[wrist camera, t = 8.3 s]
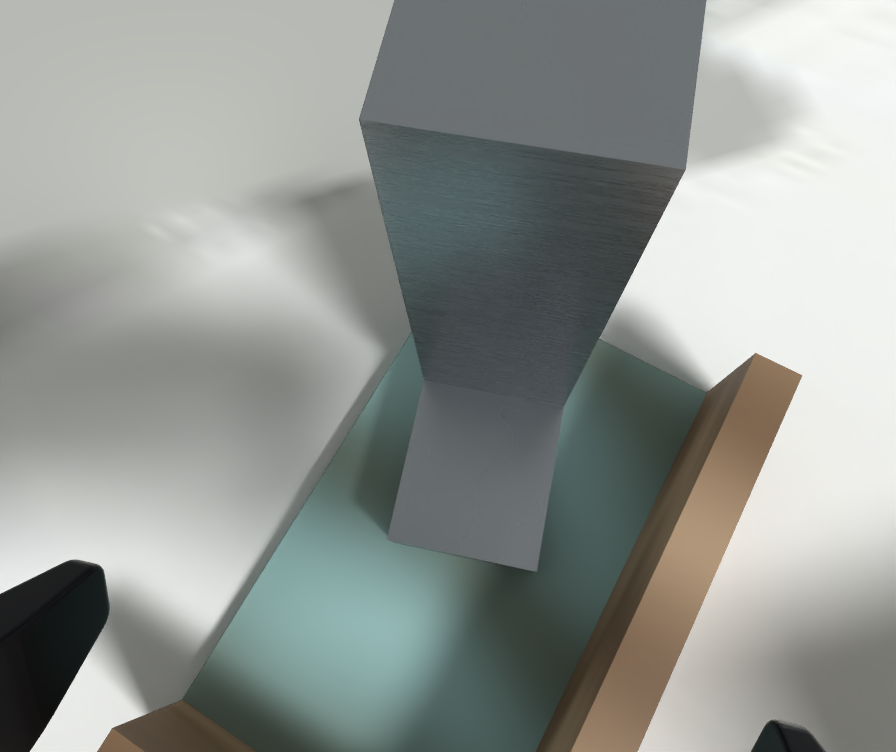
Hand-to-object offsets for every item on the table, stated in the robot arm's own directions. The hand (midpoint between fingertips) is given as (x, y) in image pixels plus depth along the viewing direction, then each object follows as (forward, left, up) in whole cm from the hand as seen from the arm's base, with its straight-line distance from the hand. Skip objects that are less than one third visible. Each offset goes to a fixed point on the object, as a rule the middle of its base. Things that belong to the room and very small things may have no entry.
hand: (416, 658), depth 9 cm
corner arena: (+1, 0, -10) cm, 10 cm away
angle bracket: (+5, +2, -10) cm, 11 cm away
